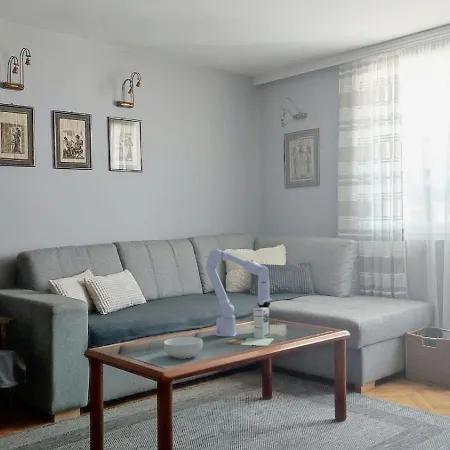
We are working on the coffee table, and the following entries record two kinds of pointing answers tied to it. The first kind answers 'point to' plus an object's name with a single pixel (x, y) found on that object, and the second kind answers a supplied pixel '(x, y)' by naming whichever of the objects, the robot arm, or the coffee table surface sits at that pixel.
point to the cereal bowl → (183, 347)
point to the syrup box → (261, 322)
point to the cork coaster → (235, 341)
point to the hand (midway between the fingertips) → (264, 317)
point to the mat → (257, 341)
